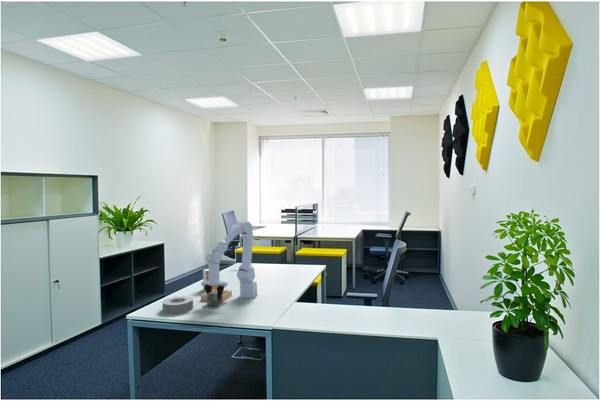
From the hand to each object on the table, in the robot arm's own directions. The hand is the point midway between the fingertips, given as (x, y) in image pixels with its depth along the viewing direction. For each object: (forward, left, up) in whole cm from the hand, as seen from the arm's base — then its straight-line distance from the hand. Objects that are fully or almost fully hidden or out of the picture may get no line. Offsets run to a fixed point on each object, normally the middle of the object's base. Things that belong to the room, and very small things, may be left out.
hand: (214, 299), depth 204 cm
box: (0, 0, -2) cm, 2 cm away
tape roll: (+16, +10, -4) cm, 19 cm away
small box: (+18, -30, -4) cm, 35 cm away
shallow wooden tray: (+5, -12, -3) cm, 13 cm away
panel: (0, 0, -3) cm, 3 cm away
